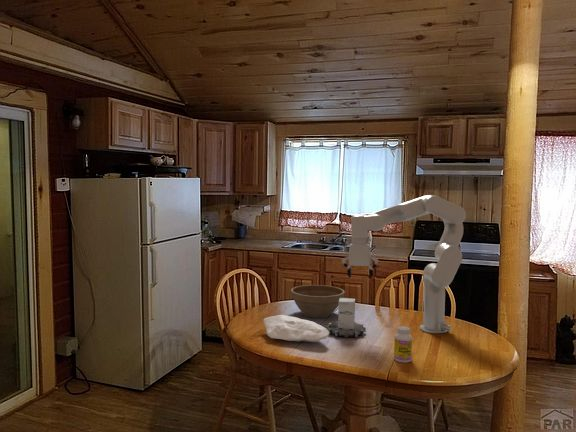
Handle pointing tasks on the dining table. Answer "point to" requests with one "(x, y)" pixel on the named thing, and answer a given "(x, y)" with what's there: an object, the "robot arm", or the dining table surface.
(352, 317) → the supplement box
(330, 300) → the flower pot
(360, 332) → the sprocket disc
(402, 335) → the supplement bottle
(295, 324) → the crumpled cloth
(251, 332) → the dining table surface
